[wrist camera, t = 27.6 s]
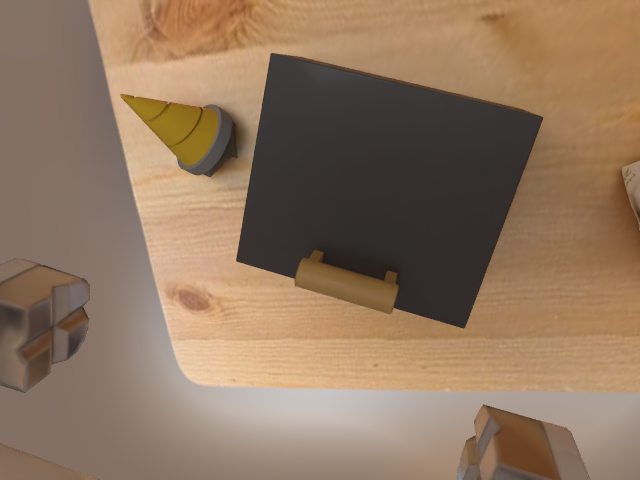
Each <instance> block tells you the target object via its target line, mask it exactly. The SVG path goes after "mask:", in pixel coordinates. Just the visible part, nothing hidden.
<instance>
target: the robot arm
mask: <svg viewBox="0 0 640 480" xmlns="http://www.w3.org/2000/svg"><path fill="white" fill-rule="evenodd" d="M89 299H90V285H89V283H88V282H87V281H86V280H85V279H83V278H80V277H77V276H74V275H71V274H68V273H65V272H62V271H59V270H56V269H53V268H50V267H47V266H44V265H41V264H38V263H35V262H32V261H29V260H25V259H18V258H14V259H12V260H9V261H7V262H5V263H2V264H0V385H1V386H5V387H8V388H11V389H14V390H17V391H20V392H24V393H26V392H27V391H28V390H29V389H31V388H32V387H33V386H35V385H36V384H37V383H38V382H40V381H41V380H42V379H44V378H45V377H46V376H47V375H49V374H50V373H51V365H52V364H55V363H58V362H62V361H66V360H68V359H69V358H70V357H71V356H72V355H74V354H75V353H76V352H77V351H78V349H79V348H80V346H81V345H82V343H83V342H84V340H85V337H86V334H87V331H88V321H89V318H88V316H87V314H86V312H85V310H84V308H83V306H84V305H85V304H86V303H87V302H88V301H89ZM474 424H475V433H476V435H475V436H473V437H472V438H470V439H468V440H467V441H466V443H465V446H464V448H463V451H462V454H461V458H460V462H459V467H458V475H457V480H590V478H589V475H588V473H587V470H586V468H585V465H584V463H583V460H582V458H581V455H580V453H579V450H578V448H577V445H576V443H575V440H574V438H573V436H572V433H571V432H570V431H569V430H568V429H567V428H565V427H562V426H558V425H554V424H551V423H547V422H543V421H540V420H535V419H532V418H528V417H525V416H521V415H518V414H514V413H511V412H508V411H504V410H500V409H497V408H494V407H490V406H487V405H483V406H482V407H481V409H480V410H479V412H478V414H477V416H476V419H475V421H474ZM0 480H99V479H96V478H93V477H90V476H88V475H85V474H82V473H79V472H77V471H74V470H71V469H69V468H66V467H63V466H60V465H58V464H55V463H52V462H49V461H47V460H44V459H41V458H39V457H36V456H33V455H30V454H28V453H25V452H22V451H20V450H17V449H14V448H11V447H8V446H6V445H3V444H0Z"/></svg>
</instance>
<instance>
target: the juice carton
mask: <svg viewBox="0 0 640 480" xmlns="http://www.w3.org/2000/svg"><path fill="white" fill-rule="evenodd" d="M622 175H623V179H624V183H625V187H626V190H627V194H628V197H629V200H630V204H631V207H632V209H633V211H634V213H635V215H636V218H637V220H638V224H639V229H640V161H637V162H634V163H632V164H629V165H627V166H625V167H623V168H622Z"/></svg>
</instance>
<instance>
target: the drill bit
mask: <svg viewBox="0 0 640 480" xmlns="http://www.w3.org/2000/svg"><path fill="white" fill-rule="evenodd" d="M120 96H121V98H122V99H123V100H124V101H125V102H126V103H127V104H128V105H129V106H130V107H131V108H132V109H133V111H134V112H135V113H136V114H137V115H138V116H139V117H140V118H141V119H142V120H143V121H144V122H145V123H146V124H147V126H148V127H149V128H150V129H151V130H152V131H153V132H154V133H155V134H156V135H157V136H158V137H159V138H160V139H161V141H162V142H163V143H164V144H165V145H166V146H167V147H168V148H169V149H170V150H171V151H172V152H173V153H174V154H175V156H176V157H177V160H178V164H179V166H180V167H181V169H183V170H185V171H188V172H190V173H192V174H194V175H202V174H205V175H207V176H209V177H211V176H212V175H213V174H214V173H215V172H216V171H217V170H218V169H219V168H220V167H221V166H222V165H223V164H224V163H225V162H226V161H227V160H228V159H229V158H230V157H231V156H234V157H236V158H237V149H236V136H235V124H234V123H233V122H231V119H230V116H229V114H228V113H227V112H225V111H224V110H222V109H220V108H219V107H217V106H215V105H207V106H205V107H203V108H202V107H196V106H190V105H184V104H178V103H172V102H170V103H169V104H167V103H168V102H166V101H160V100H154V99H148V98H142V97H134V96H130V95H124V94H121V95H120Z"/></svg>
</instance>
